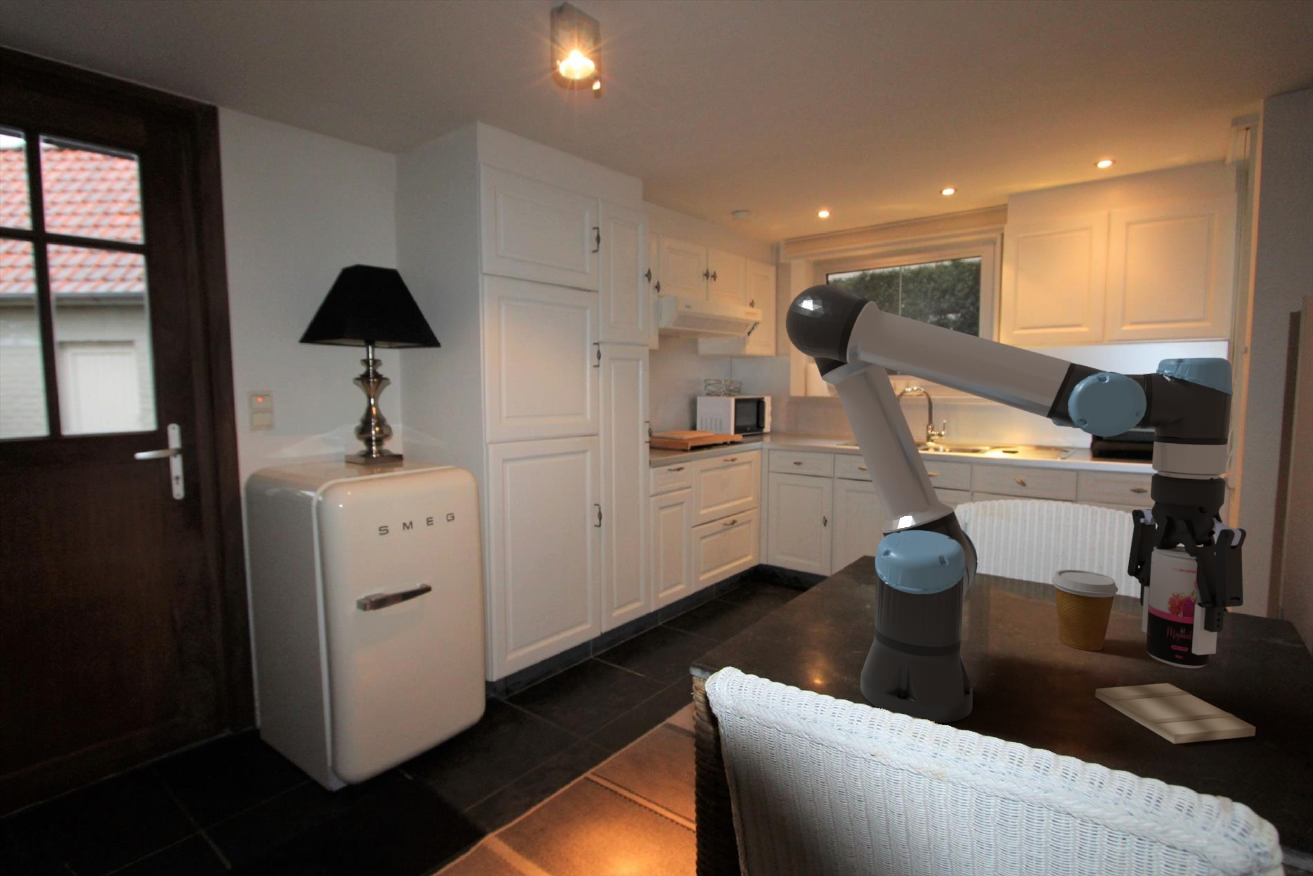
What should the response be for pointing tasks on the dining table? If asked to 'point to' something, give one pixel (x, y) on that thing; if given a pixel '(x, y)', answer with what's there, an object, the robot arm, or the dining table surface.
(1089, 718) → the dining table surface
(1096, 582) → the disposable coffee cup
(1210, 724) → the trivet
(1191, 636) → the beverage can
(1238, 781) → the dining table surface
